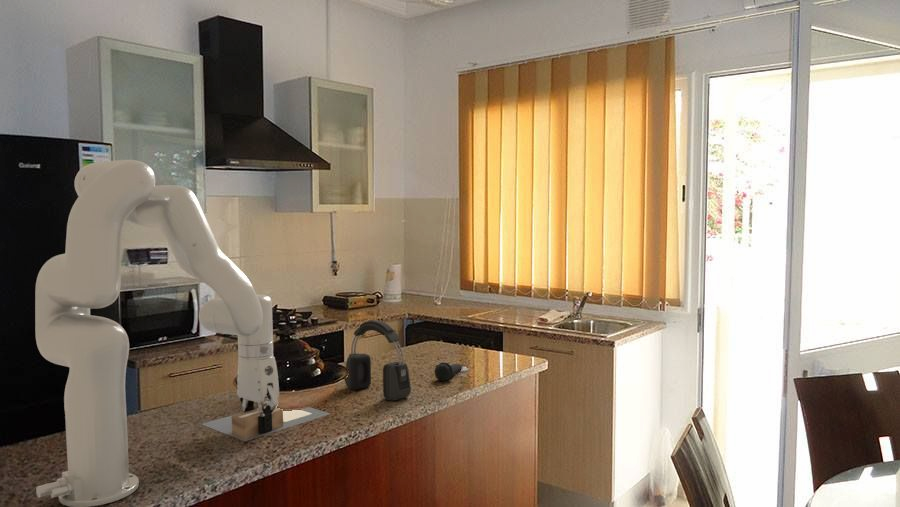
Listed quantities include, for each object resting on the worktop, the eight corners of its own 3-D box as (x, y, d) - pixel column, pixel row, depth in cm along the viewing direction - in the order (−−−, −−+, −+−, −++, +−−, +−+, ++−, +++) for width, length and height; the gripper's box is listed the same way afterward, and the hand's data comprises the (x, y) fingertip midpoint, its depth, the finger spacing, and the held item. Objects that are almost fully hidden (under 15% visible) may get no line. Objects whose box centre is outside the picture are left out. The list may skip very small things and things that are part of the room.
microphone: (456, 377, 207) (434, 385, 188) (452, 359, 208) (429, 365, 189) (472, 373, 205) (451, 380, 186) (467, 355, 206) (446, 361, 187)
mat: (244, 443, 139) (244, 440, 139) (200, 426, 151) (200, 423, 151) (331, 416, 158) (331, 413, 158) (286, 402, 169) (286, 400, 169)
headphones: (342, 388, 183) (341, 318, 182) (359, 383, 188) (358, 315, 186) (396, 403, 168) (395, 327, 167) (413, 398, 173) (412, 324, 171)
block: (244, 438, 141) (244, 419, 141) (232, 433, 144) (231, 415, 144) (283, 426, 149) (282, 408, 149) (270, 422, 152) (269, 404, 152)
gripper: (293, 352, 143) (294, 433, 144) (248, 342, 154) (250, 418, 155) (263, 358, 137) (266, 442, 138) (219, 348, 148) (222, 426, 149)
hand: (258, 428), depth 147 cm, fingers closed on block, 5 cm apart
